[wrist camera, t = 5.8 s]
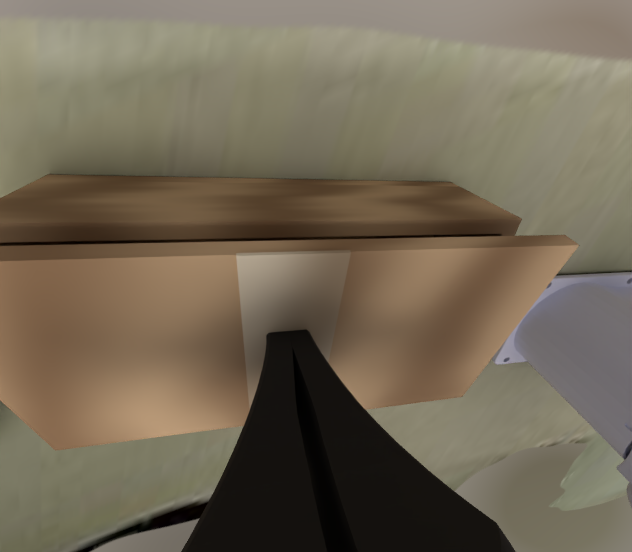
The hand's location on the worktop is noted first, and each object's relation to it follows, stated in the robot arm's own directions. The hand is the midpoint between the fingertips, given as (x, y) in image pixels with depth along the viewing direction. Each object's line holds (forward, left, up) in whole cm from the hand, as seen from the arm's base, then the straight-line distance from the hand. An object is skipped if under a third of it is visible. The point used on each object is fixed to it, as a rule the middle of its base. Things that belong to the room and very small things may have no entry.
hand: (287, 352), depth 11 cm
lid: (0, +1, -1) cm, 1 cm away
